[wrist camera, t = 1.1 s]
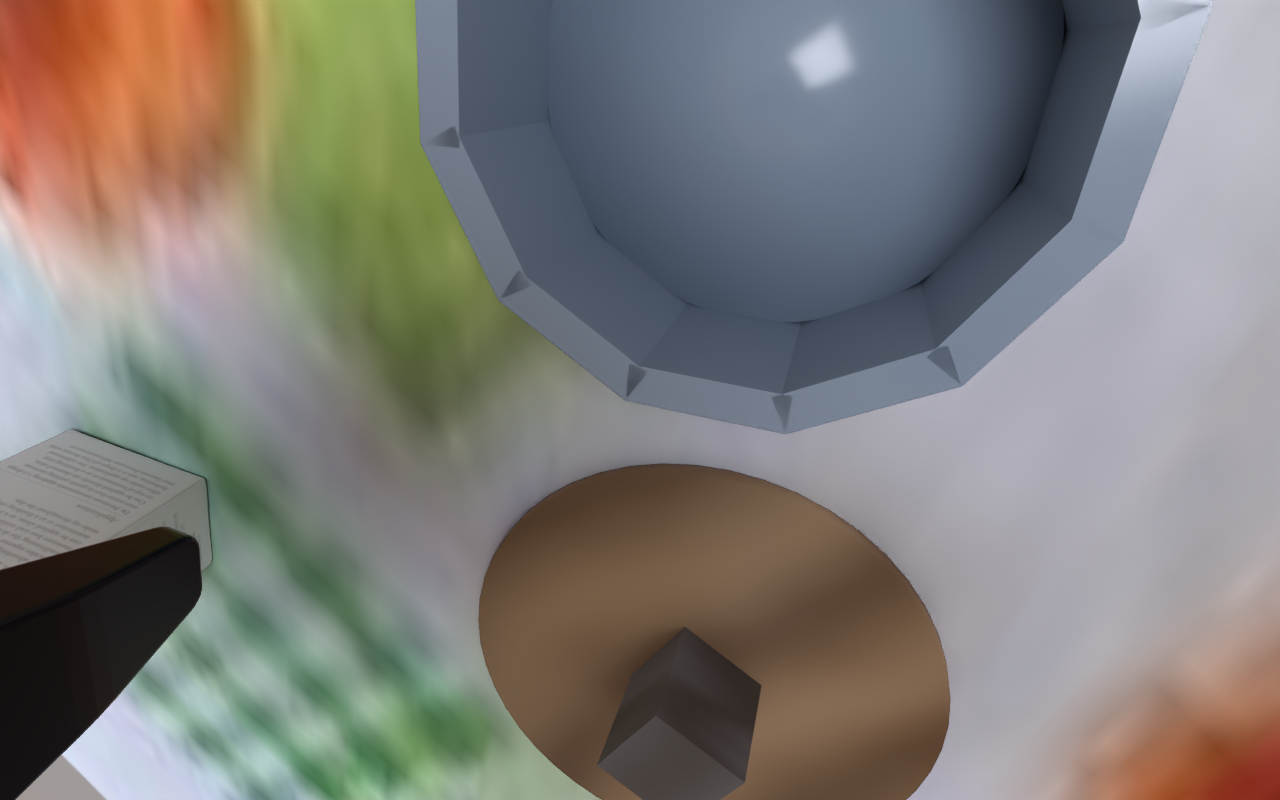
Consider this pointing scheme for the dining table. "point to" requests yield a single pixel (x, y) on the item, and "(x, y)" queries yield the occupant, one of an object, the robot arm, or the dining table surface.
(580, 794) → the dining table surface
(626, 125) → the slate bowl
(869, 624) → the walnut lid
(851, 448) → the dining table surface
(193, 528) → the skincare box
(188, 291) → the dining table surface
